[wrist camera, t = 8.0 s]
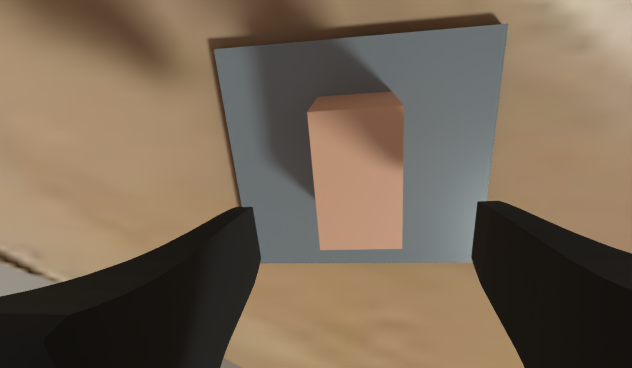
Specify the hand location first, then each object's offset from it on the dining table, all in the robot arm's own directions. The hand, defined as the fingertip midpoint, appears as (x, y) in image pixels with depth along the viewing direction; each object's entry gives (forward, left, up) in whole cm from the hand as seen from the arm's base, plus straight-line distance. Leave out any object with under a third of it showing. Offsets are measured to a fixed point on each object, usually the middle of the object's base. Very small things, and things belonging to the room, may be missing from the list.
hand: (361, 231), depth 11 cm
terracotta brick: (0, 0, -7) cm, 7 cm away
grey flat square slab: (0, 0, -7) cm, 7 cm away
